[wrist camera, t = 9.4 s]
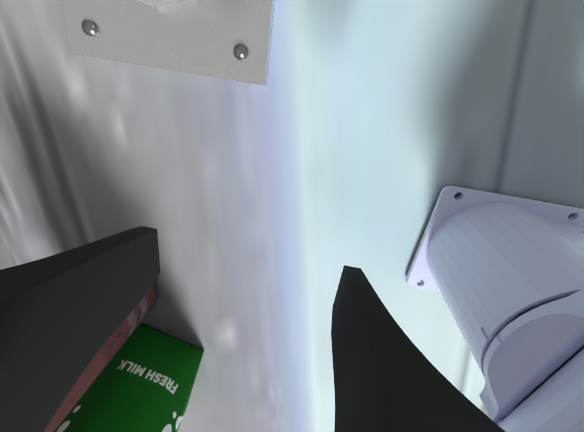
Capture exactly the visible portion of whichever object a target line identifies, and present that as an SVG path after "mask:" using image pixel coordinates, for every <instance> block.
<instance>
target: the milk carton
mask: <svg viewBox="0 0 584 432" xmlns="http://www.w3.org/2000/svg"><path fill="white" fill-rule="evenodd" d="M203 352H204V350H202V349H200V348H197V347H195V346H193V345H190V344H188V343H186V342H183V341H181V340H179V339H176V338H174V337H171V336H169V335H167V334H164V333H162V332H160V331H157V330H155V329H153V328H150V327H148V326H145V325H143V324H141V323H139V325H138V326H137V327H136V328H135V330H134V331H133V332H132V334H131V335H130V336H129V337H128V339H127V340H126V341H125V342H124V344H123V345H122V346H121V347H120V349H119V350H118V351H117V352H116V354H115V355H114V356H113V358H112V359H111V360H110V361H109V363H108V364H107V365H106V366H105V368H104V369H103V370H102V371H101V373H100V374H99V375H98V376H97V378H96V379H95V380H94V381H93V383H92V384H91V385H90V387H89V388H88V389H87V390H86V392H85V393H84V394H83V395H82V397H81V398H80V399H79V400H78V402H77V403H76V404H75V405H74V407H73V408H72V409H71V411H70V412H69V413H68V414H67V416H66V417H65V418H64V419H63V421H62V422H61V423H60V424H59V426H58V427H57V428H56V429H55V431H54V432H177V431H178V428H179V426H180V423H181V421H182V418H183V416H184V413H185V410H186V407H187V404H188V401H189V398H190V394H191V391H192V388H193V384H194V381H195V378H196V374H197V371H198V368H199V365H200V362H201V358H202V355H203Z"/></svg>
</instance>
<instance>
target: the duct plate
mask: <svg viewBox="0 0 584 432" xmlns="http://www.w3.org/2000/svg"><path fill="white" fill-rule="evenodd" d="M62 2H63V8H64V14H65V19H66V25H67V31H68V37H69V42H70V48H71V54H77V55H83V56H89V57H95V58H101V59H107V60H113V61H120V62H126V63H132V64H138V65H144V66H150V67H156V68H162V69H168V70H174V71H180V72H187V73H193V74H199V75H205V76H211V77H217V78H223V79H229V80H235V81H241V82H247V83H254V84H260V85H266V82H267V71H268V61H269V50H270V40H271V29H272V19H273V8H274V0H197V1H196V2H190V3H184V4H179V5H173V6H167V7H162V8H155V7H153V6H150V5H148V4H145V3H143V2H140V1H138V0H62Z"/></svg>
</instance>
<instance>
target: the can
mask: <svg viewBox="0 0 584 432" xmlns="http://www.w3.org/2000/svg"><path fill="white" fill-rule="evenodd" d="M155 302H156V286H155V283H153V285H152V286H151V288H150V289H149V291H148V292H147V294H146V295H145V296H144V298H143V299H142V300H141V301H140V302H139V304H138V305H137V306H136V307H135V308H134V309H133V311H132V312H131V313H130V314H129V315H128V317H127V318H126V319H125V320H124V321H123V322H122V324H121V325H120V326H119V327H118V328H117V329H116V331H115V332H114V333H113V334H112V335H111V336H110V338H109V339H108V340H107V341H106V342H105V343H104V345H103V346H102V347H101V348H100V350H99V351H98V352H97V353H96V355H95V356H94V357H93V359H92V360H91V362H90V363H89V364H88V366H87V367H86V369H85V370H84V371H83V373H82V374H81V376H80V377H79V379H78V380H77V381H76V383H75V384H74V386H73V387H72V389H71V390H70V392H69V393H68V395H67V396H66V398H65V399H64V401H63V402H62V404H61V405H60V407H59V408H58V410H57V411H56V413H55V414H54V416H53V417H52V419H51V421H50V422H49V424H48V426H47V427H46V429H45V430H44V432H54V431H55V429H56V428H57V427H58V426H59V424H60V423H61V422H62V421H63V419H64V418H65V417H66V416H67V414H68V413H69V412H70V411H71V409H72V408H73V407H74V405H75V404H76V403H77V402H78V400H79V399H80V398H81V397H82V395H83V394H84V393H85V392H86V390H87V389H88V388H89V387H90V385H91V384H92V383H93V381H94V380H95V379H96V378H97V376H98V375H99V374H100V373H101V371H102V370H103V369H104V368H105V366H106V365H107V364H108V363H109V361H110V360H111V359H112V358H113V356H114V355H115V354H116V352H117V351H118V350H119V349H120V347H121V346H122V345H123V344H124V342H125V341H126V340H127V339H128V337H129V336H130V335H131V334H132V332H133V331H134V330H135V328H136V327H137V326H138V325H139V323H140V322H141V321H142V320H143V318H144V317H145V316H146V315H147V313H148V312H149V311H150V310H151V308H152V307H153V305H154V303H155Z"/></svg>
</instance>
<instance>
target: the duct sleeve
mask: <svg viewBox="0 0 584 432" xmlns="http://www.w3.org/2000/svg"><path fill="white" fill-rule="evenodd" d="M138 1H140V2H143V3H145V4H148V5H150V6H153V7H155V8H162V7H167V6H173V5H179V4H184V3H190V2H196V1H197V0H138Z"/></svg>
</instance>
